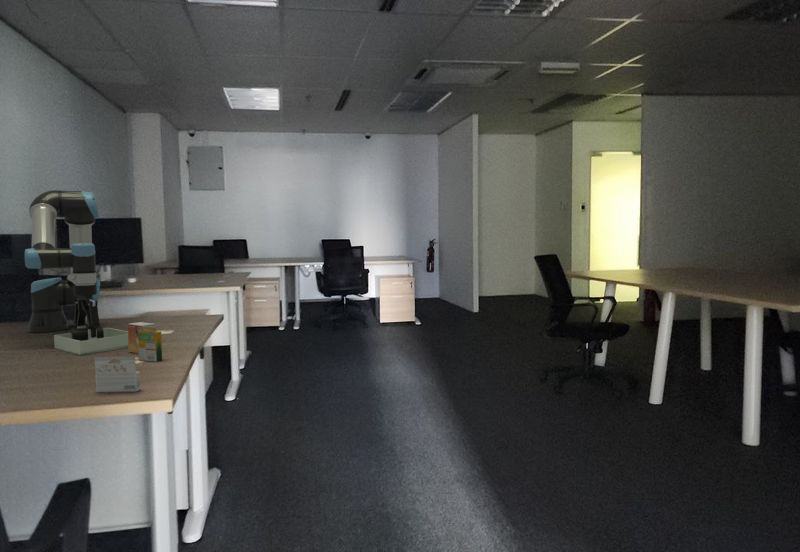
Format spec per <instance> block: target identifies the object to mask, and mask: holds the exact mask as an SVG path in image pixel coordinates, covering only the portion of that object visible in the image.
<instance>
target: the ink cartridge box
mask: <svg viewBox="0 0 800 552" xmlns="http://www.w3.org/2000/svg"><path fill="white" fill-rule="evenodd" d="M93 359H94V360H93V361H94V368H95V369H94V370H95V375H94V376H95V380H94V382H95V392H96V393H115V392H116V393H119V392H121V393H123V392H124V393H127V392H131V393H132V392H138V391H140V390H141V371H139V370H137V365H136V363H137V362H136V356H135V355H134V356H132V355H131V356H127V355H126V356H93ZM113 360H116V361H120V363H119V362H118V363H117V362H114V363H113V362H111V361H113ZM110 362H111V363H110Z"/></svg>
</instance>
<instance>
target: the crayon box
mask: <svg viewBox="0 0 800 552" xmlns="http://www.w3.org/2000/svg"><path fill="white" fill-rule="evenodd" d="M146 328H147V329H150V331H143V329H146ZM162 343H163V342H162V331H156V326H155V327H138V351H139V354H138V361H147V362H160V361H162V360H163V350H162V349H163V348H162Z"/></svg>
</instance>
